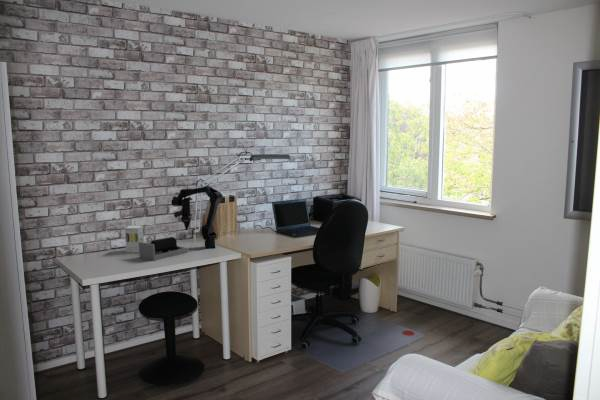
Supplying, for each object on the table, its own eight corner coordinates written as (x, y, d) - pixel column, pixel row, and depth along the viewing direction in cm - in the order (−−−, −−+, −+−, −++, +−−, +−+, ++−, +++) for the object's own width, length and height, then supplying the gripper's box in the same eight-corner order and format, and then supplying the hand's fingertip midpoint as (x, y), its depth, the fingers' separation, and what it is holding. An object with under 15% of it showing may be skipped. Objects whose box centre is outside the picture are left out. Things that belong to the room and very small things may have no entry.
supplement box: (125, 252, 327) (124, 227, 325) (130, 249, 337) (128, 225, 334) (140, 252, 327) (138, 227, 325) (144, 249, 336) (143, 225, 334)
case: (172, 249, 335) (172, 235, 333) (187, 252, 326) (186, 237, 325) (139, 257, 313) (138, 242, 312) (153, 260, 305) (152, 244, 304)
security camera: (181, 252, 325) (180, 237, 324) (155, 257, 312) (154, 241, 311) (175, 250, 330) (174, 235, 329) (150, 255, 317) (149, 240, 315)
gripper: (175, 205, 351) (176, 226, 353) (172, 209, 333) (173, 231, 335) (191, 204, 353) (192, 226, 355) (189, 208, 335) (190, 231, 336)
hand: (187, 228), depth 345 cm, fingers open, 9 cm apart
